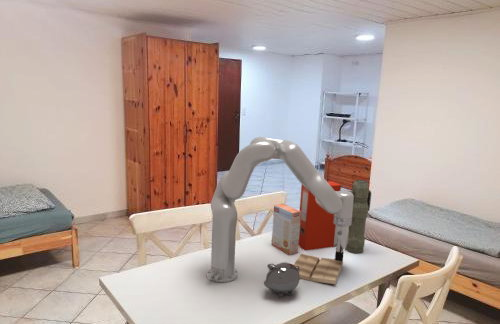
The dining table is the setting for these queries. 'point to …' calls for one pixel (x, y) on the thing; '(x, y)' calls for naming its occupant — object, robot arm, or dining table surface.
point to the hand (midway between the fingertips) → (338, 260)
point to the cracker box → (286, 228)
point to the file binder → (315, 222)
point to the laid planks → (307, 266)
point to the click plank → (327, 271)
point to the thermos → (358, 216)
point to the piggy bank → (282, 278)
